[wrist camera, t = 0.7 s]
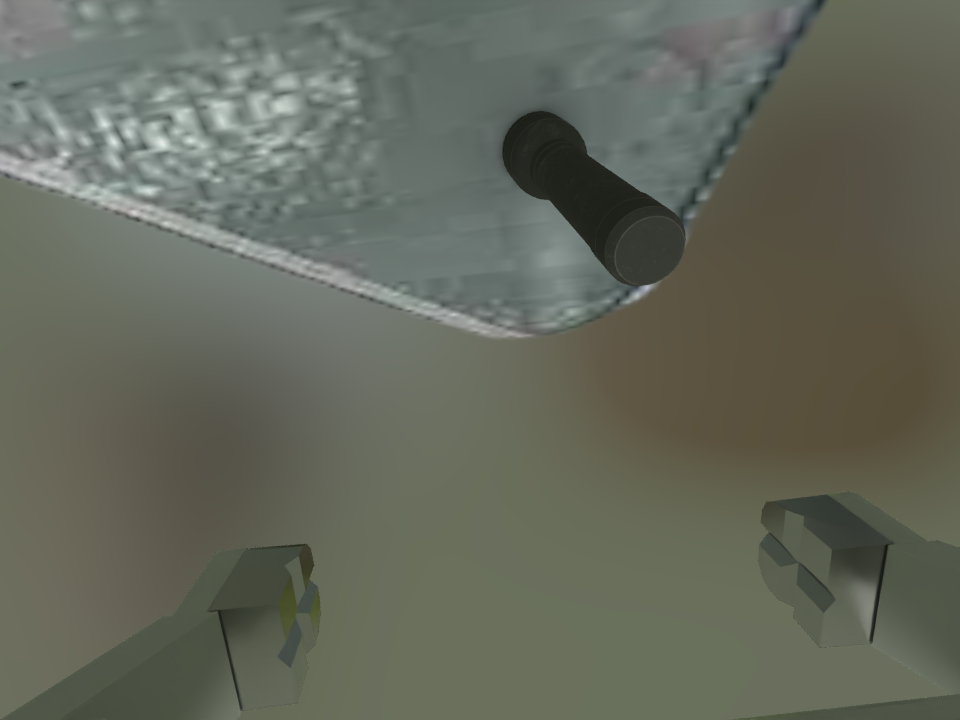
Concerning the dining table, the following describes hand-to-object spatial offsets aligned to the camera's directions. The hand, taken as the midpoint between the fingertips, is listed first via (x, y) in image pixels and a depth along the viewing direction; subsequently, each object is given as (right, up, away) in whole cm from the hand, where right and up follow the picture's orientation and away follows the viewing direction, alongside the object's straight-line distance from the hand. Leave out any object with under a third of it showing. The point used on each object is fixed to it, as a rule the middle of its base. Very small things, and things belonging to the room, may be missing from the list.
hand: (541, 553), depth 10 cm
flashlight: (+5, +24, +43) cm, 50 cm away
